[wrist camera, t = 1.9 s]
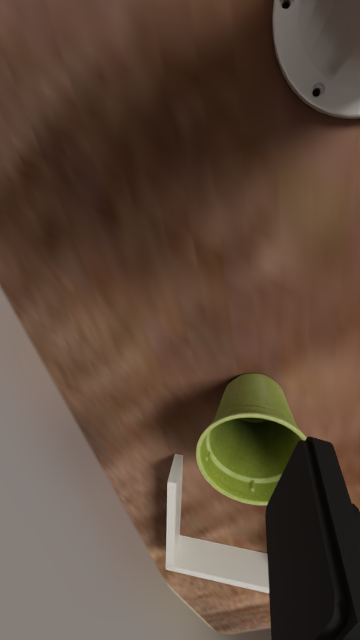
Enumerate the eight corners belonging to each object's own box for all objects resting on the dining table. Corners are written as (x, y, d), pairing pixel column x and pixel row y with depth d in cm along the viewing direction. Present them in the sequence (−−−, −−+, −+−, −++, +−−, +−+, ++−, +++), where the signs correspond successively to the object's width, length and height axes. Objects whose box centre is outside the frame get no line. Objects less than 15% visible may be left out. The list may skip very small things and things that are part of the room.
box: (316, 477, 36) (323, 511, 32) (292, 563, 42) (296, 599, 39) (174, 453, 39) (167, 481, 35) (172, 538, 45) (165, 569, 41)
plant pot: (208, 429, 36) (197, 497, 28) (206, 355, 33) (193, 410, 25) (296, 437, 34) (310, 512, 27) (304, 359, 31) (324, 420, 23)
